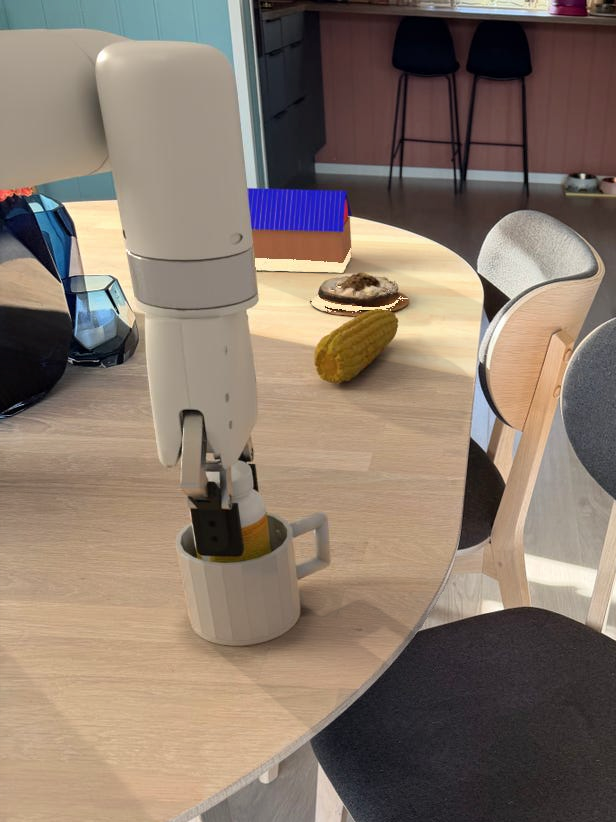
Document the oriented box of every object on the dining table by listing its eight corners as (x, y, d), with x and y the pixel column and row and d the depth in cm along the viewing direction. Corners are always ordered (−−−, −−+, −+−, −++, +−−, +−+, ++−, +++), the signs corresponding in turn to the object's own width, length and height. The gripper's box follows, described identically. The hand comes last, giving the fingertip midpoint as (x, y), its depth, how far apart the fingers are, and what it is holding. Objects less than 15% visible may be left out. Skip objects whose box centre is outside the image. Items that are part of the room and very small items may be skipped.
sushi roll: (299, 313, 136) (297, 284, 134) (322, 286, 148) (320, 259, 146) (399, 318, 135) (398, 288, 133) (414, 290, 148) (413, 263, 145)
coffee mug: (229, 660, 68) (216, 578, 64) (169, 613, 72) (153, 534, 68) (363, 596, 75) (358, 519, 71) (300, 557, 80) (293, 483, 76)
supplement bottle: (289, 582, 72) (277, 467, 66) (238, 614, 68) (220, 494, 62) (240, 560, 74) (224, 447, 68) (187, 590, 70) (166, 472, 65)
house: (241, 253, 164) (232, 180, 158) (354, 256, 165) (350, 184, 158) (225, 270, 155) (215, 194, 148) (345, 274, 155) (341, 198, 148)
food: (353, 393, 111) (350, 343, 108) (309, 388, 112) (304, 338, 109) (406, 339, 128) (405, 295, 124) (367, 335, 129) (365, 291, 125)
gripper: (170, 242, 65) (206, 479, 75) (87, 317, 51) (145, 595, 61) (279, 246, 65) (299, 482, 75) (225, 321, 51) (259, 598, 61)
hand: (230, 530), depth 68 cm, fingers closed on supplement bottle, 5 cm apart
